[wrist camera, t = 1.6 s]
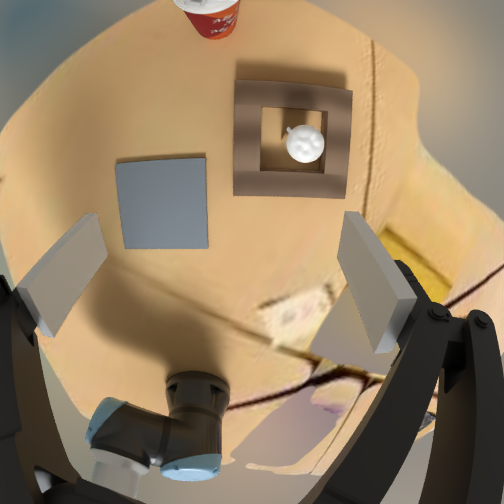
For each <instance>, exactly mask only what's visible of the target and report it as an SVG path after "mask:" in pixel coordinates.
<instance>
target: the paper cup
mask: <svg viewBox="0 0 504 504" xmlns="http://www.w3.org/2000/svg"><path fill="white" fill-rule="evenodd" d="M173 2H174V3H175V4H176V5H177V6H178V7H179V8H180V9H182V10H183V11H184V12H185V14H186V15H187V17H188V18H189V20H190V21H191V23H192V24H193V25H194V27H195V28H196V30H197V31H198V32H199V33H200V34H201V35H202V36H203V37H205V38H208V39H221V38H224V37H226V36H228V35H229V34H230V33H231V32H232V31H233V29H234V27H235V24H236V20H237V14H238V8H239V2H240V0H173Z"/></svg>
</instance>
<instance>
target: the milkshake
mask: <svg viewBox="0 0 504 504" xmlns="http://www.w3.org/2000/svg"><path fill="white" fill-rule="evenodd" d="M286 130H287V132H285V133H284V134H283V137H282V143H283V147H284V148H285V149H286V150H287V151H288V152H289V154H290V155H291V156H292V157H293V158H294V159H295V160H297V161H299V162H302V163H308V162H312V161H314V160H316V159H317V158H319V156H320V155H321V154H322V152H323V149H324V138H323V136H322V134H321V133H320V131H319V130H317V129H316V128H315V127H313V126H310V125H299V126H297V127H295V128H293V129H290V127H289V126H288V128H287V129H286Z"/></svg>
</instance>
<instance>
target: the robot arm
mask: <svg viewBox="0 0 504 504" xmlns="http://www.w3.org/2000/svg"><path fill="white" fill-rule="evenodd" d="M107 256H108V253H107V250H106V246H105V243H104V239H103V235H102V231H101V228H100V224H99V219H98V215H97V213H87V214H85V215H84V216H83V217H82V218H81V219H80V220H79V221H78V222H77V223H76V224H74V225H73V226H72V227H71V228H70V229H69V230H68V231H67V232H66V233H65V234H64V235H63V236H62V237H61V238H60V239H59V240H58V241H57V242H56V243H55V244H54V245H53V246H52V247H51V248H50V249H49V250H48V251H47V252H46V253H45V254H44V255H43V257H42V258H41V259H40V260H39V261H38V262H37V263H36V264H35V265H34V266H33V267H32V269H31V270H30V271H29V272H28V273H27V274H26V275H25V277H24V278H23V279H22V280H21V281H20V282H19V284H18V285H17V286H16V287H15V289H14V290H13V291H11V289H10V287H9V285H8V283H7V281H6V279H5V277H4V276H3V275H0V504H145V503H143V502H141V501H139V500H136V495H137V489H138V483H139V477H140V476H142V475H144V474H146V473H148V472H149V466H150V465H154V466H157V467H160V471H161V474H162V475H163V476H165V477H168V478H170V479H174V480H180V481H200V480H207V479H210V478H213V477H215V476H216V475H217V474H219V472H220V469H221V459H222V418H223V416H224V414H225V411H226V409H227V407H228V404H229V401H230V390H229V387H228V386H227V384H226V383H225V382H224V381H222V380H221V379H219V378H218V377H215V376H213V375H210V374H207V373H203V372H182V373H178V374H176V375H174V376H172V377H171V378H170V379H169V380H168V382H167V386H166V398H167V403H168V408H169V417H168V416H164V415H161V414H158V413H155V412H152V411H149V410H146V409H144V408H141V407H138V406H136V405H133V404H130V403H128V402H127V401H121V400H118V399H116V398H113V397H107V398H105V399H103V400H102V401H101V403H100V404H99V405H98V407H97V409H96V410H95V412H94V414H93V416H92V418H91V421H90V423H89V427H88V429H87V432H86V437H85V438H86V441H87V442H88V443H89V444H91V448H90V453H91V455H92V456H93V458H94V460H95V465H94V468H93V472H92V477H91V481H90V482H89V481H87V480H84V479H82V478H81V476H80V475H79V473H78V472H77V471H76V470H75V469H74V468H73V466H72V465H71V463H70V462H69V460H68V457H67V455H66V452H65V449H64V447H63V444H62V441H61V438H60V435H59V432H58V430H57V426H56V423H55V419H54V416H53V413H52V409H51V406H50V402H49V398H48V394H47V389H46V385H45V380H44V375H43V371H42V365H41V359H40V353H39V346H38V339H37V335H36V333H35V332H34V330H35V328H36V326H37V327H38V328H39V330H40V331H41V333H42V335H44V336H48V337H52V338H54V337H55V336H56V334H57V332H58V330H59V329H60V327H61V325H62V324H63V322H64V320H65V319H66V317H67V315H68V314H69V312H70V311H71V309H72V307H73V306H74V304H75V303H76V301H77V300H78V298H79V297H80V295H81V293H82V292H83V290H84V289H85V287H86V286H87V284H88V283H89V282H90V280H91V279H92V277H93V276H94V274H95V273H96V271H97V270H98V269H99V267H100V266H101V264H102V263H103V262H104V260H105V259H106V257H107ZM337 259H338V261H339V264H340V266H341V268H342V271H343V273H344V275H345V278H346V280H347V283H348V285H349V288H350V290H351V292H352V295H353V298H354V300H355V303H356V305H357V308H358V311H359V313H360V316H361V319H362V321H363V324H364V327H365V329H366V332H367V335H368V338H369V340H370V344H371V346H372V349H373V352H374V354H377V353H385V352H391V351H392V350H393V348H394V346H395V344H396V342H397V343H398V345H399V348H400V351H399V352H398V354H397V356H396V358H395V359H394V361H393V363H392V364H391V368H390V371H389V373H388V374H387V376H386V378H385V380H384V382H383V384H382V386H381V388H380V390H379V391H378V393H377V395H376V397H375V399H374V400H373V402H372V404H371V406H370V407H369V409H368V411H367V412H366V414H365V416H364V417H363V419H362V421H361V422H360V424H359V425H358V427H357V428H356V430H355V432H354V433H353V435H352V436H351V438H350V439H349V441H348V442H347V443H346V445H345V446H344V448H343V449H342V451H341V452H340V453H339V455H338V456H337V458H336V459H335V460H334V462H333V463H332V464H331V466H330V467H329V468H328V470H327V471H326V472H325V473H324V475H323V476H322V477H321V479H320V480H319V481H318V482H317V483H316V485H315V486H314V487H313V488H312V489H311V490H310V492H309V493H308V494H307V495H306V496H305V497H304V498H303V499H302V500H301V501H300V502H299V503H298V504H380V502H381V501H382V499H383V498H384V496H385V494H386V493H387V491H388V489H389V488H390V486H391V484H392V483H393V481H394V479H395V477H396V476H397V474H398V472H399V470H400V468H401V466H402V465H403V463H404V461H405V459H406V457H407V455H408V453H409V451H410V449H411V447H412V444H413V442H414V440H415V438H416V436H417V433H418V431H419V429H420V426H421V424H422V422H423V419H424V417H425V414H426V411H427V409H428V406H429V403H430V401H431V398H432V395H433V392H434V389H435V386H436V383H437V380H438V377H439V386H438V401H437V412H436V421H435V429H434V436H433V443H432V449H431V454H430V459H429V464H428V469H427V474H426V478H425V482H424V486H423V490H422V493H421V497H420V500H419V504H501V499H502V493H503V486H504V376H503V368H502V362H501V356H500V350H499V345H498V340H497V335H496V331H495V326H494V323H493V321H492V319H491V318H490V317H489V315H488V314H486V313H485V312H483V311H480V310H475V309H474V310H471V311H470V313H469V314H468V316H467V317H466V319H462V318H457V317H452V315H451V313H450V311H449V310H448V309H447V308H446V307H445V306H443V305H441V304H440V303H436V302H432V301H431V300H430V298H429V297H428V295H427V294H426V292H425V291H424V289H423V287H422V286H421V284H420V283H419V282H418V280H417V278H416V277H415V276H414V274H413V273H412V271H411V270H410V268H409V267H408V266H407V265H406V264H404V263H403V262H402V261H401V260H393V259H392V257H391V256H390V254H389V253H388V251H387V250H386V249H385V247H384V246H383V244H382V243H381V241H380V240H379V239H378V237H377V236H376V234H375V233H374V232H373V230H372V229H371V228H370V226H369V225H368V224H367V222H366V221H365V219H364V218H363V217H362V216H361V214H360V213H359V212H352V211H345V213H344V220H343V226H342V232H341V238H340V243H339V249H338V254H337ZM41 491H42V492H43V493H42V492H41Z"/></svg>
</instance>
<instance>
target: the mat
mask: <svg viewBox="0 0 504 504" xmlns="http://www.w3.org/2000/svg"><path fill="white" fill-rule="evenodd" d="M115 171H116V183H117V193H118V202H119V211H120V218H121V226H122V232H123V239H124V245H125V249H208V228H207V196H206V158H184V159H164V160H150V161H137V162H126V163H117V164H115Z"/></svg>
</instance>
